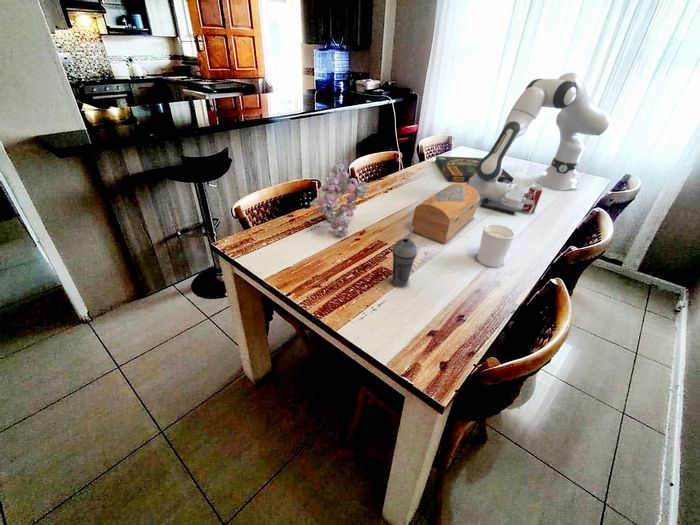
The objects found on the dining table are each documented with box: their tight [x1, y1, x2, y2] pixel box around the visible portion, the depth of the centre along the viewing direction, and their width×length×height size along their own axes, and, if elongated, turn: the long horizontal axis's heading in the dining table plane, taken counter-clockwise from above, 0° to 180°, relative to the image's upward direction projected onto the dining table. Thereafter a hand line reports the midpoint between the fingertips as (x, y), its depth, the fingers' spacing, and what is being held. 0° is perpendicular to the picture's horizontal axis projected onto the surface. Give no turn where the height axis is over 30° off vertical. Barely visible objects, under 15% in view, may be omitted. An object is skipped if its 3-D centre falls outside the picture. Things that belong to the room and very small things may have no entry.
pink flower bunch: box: [309, 162, 372, 239], centre depth 126 cm, size 20×22×25 cm
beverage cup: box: [392, 225, 418, 288], centre depth 97 cm, size 7×7×20 cm
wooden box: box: [411, 182, 481, 244], centre depth 133 cm, size 30×16×14 cm, turn 140°
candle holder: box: [476, 223, 516, 268], centre depth 112 cm, size 10×10×12 cm
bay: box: [479, 198, 516, 216], centre depth 155 cm, size 16×15×1 cm
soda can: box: [521, 184, 543, 215], centre depth 147 cm, size 5×5×12 cm
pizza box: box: [434, 155, 514, 184], centre depth 193 cm, size 35×35×4 cm
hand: (534, 200), depth 147 cm, fingers closed on soda can, 5 cm apart
